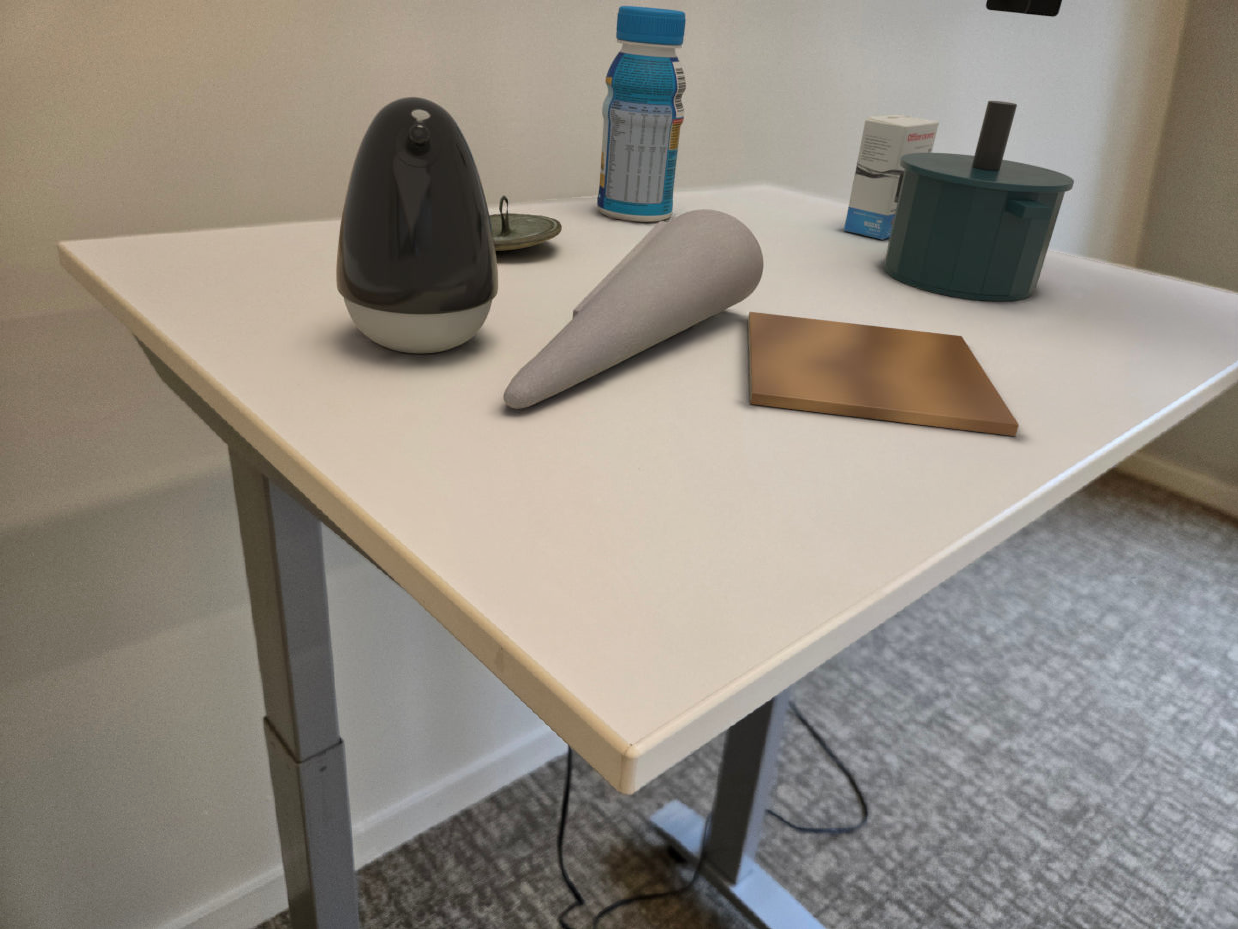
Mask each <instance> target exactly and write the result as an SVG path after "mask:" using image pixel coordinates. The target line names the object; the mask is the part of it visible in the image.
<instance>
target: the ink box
mask: <svg viewBox="0 0 1238 929" xmlns="http://www.w3.org/2000/svg"><path fill="white" fill-rule="evenodd" d="M939 125H940V122H939V121H936V120H931V119H925V118H921V117H915V116H910V115H905V114H889V115H874V116H868V117H867V119H865V120H864V125H863V126H864V127H863V131H862V135H861V142H860V146H859V152H858V156H857V162H856V167H855V171H854V176H853V181H852V186H851V190H850V191H851V193H850V197H849V202H848V207H847V212H846V217H845V222H844V226H843V231H846V232H849V233H853V234H858V235H861V236H864V237H865V236H866V237H870V238H873V239H878V240H886V239H890V234H891V230H892V225H893V220H894V216H895V211H896V207H897V202H898V198H899V193H900V189H901V184H902V179H903V175H904V170H905V169H904V168H903V167H901V165H900V161H901V157H902V156H903V155H906V154H912V153H933V149H934V146H935V141H936V137H937V133H938V128H939Z"/></svg>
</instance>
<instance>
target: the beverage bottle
mask: <svg viewBox="0 0 1238 929" xmlns="http://www.w3.org/2000/svg"><path fill="white" fill-rule="evenodd" d="M616 17H617V18H616V33H615V38H616V43H619V44H622V46H621V48H620V50H619V51H618V52H617V54H616V55H615V57H614V58H613V60H612V62H611V63H610V66H609V67H608V70H607V73H606V76H605V85H606V88H607V95H606V96H605V98H604V100H603V102H602V106H601V107H602V108H601V114H602V119H603V122H602V123H603V125H602V138H601V139H602V140H601V141H602V142H601V155H600V171H599V172H600V173H599V185H598V193H597V200H596V202H597V203H596V208H597V210H598V211H599V212H600V213H601V214H602V215H604V216H607V217H609V218H613V219H615V220H616V219H617V220H622V221H627V222H638V223H639V222H640V223H653V222H660V221H664V220H667V219H669V218H670V217H671V216H672V214H673V209H674V208H673V207H674V188H675V179H676V170H677V160H678V154H679V142H680V134H681V127H682V125H683V123H684V119H685V107H684V104H683V101H682V99H683V98H682V97H683V94H684V93H685V92H686V89H687V82H686V76H685V72H684V69H683V66H682V64H681V62H680V60H679V58H678V56H677V53H676V49H681V48H682V47H683V44H684V38H685V31H686V21H687V19H686V13H685V11H682V10H676V9H667V8H660V7H659V8H658V7H647V6H636V5H620V6H619V7H618V12H617V15H616Z"/></svg>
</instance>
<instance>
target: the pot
mask: <svg viewBox="0 0 1238 929" xmlns="http://www.w3.org/2000/svg"><path fill="white" fill-rule="evenodd" d="M1065 194H1066V192H1060V193H1025V192H1012V191H1002V190H993V189H986V188H979V187H973V186H966V185H961V184H955V183H950V182H946V181H941V180H937V179H933V178H929V177H925V176H922V175H919V174H916V173H913V172H910V171H908V170H906V169H905V170H904V175H903V179H902V184H901V189H900V193H899V198H898V202H897V207H896V211H895V216H894V220H893V225H892V230H891V234H890V237H889V238H888V244H887V249H886V252H885V256H884V257H885V258H884V265H883V269H884V272H886V274H887V275H889V276H890V277H892V278H893V279H895V280H897V281H899V282H901V283H903V284H905V285H908V286H911V287H913V288H917V289H920V290H924V291H926V292H931V293H935V294H939V295H941V296H942V295H943V296H948V297H954V298H958V299H959V298H960V299H966V300H973V301H983V302H984V301H985V302H986V301H987V302H1013V301H1020V300H1024V299H1027V298H1029V297H1031V296H1032V295H1033V294H1034V291H1035V290H1036V289H1037V286H1038V283H1039V281H1040V280H1039V279H1040V276H1041V273H1042V270H1043V267H1044V263H1045V259H1046V256H1047V254H1048V250H1049V246H1050V243H1051V239H1052V236H1053V234H1054V230H1055V227H1056V224H1057V220H1058V216H1059V213H1060V210H1061V206H1062V204H1063V200H1064V197H1065Z"/></svg>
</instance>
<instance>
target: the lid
mask: <svg viewBox="0 0 1238 929" xmlns="http://www.w3.org/2000/svg"><path fill="white" fill-rule="evenodd" d="M504 202H505V204H506V212H503V207H504ZM498 209H499V210H498V211H499V213H497V214H496V213H494V214H489V216H490V220H491V225H492V231H493V237H494V243H495V251H496V252H499V251H502V252H503V251H513V250H520V249H524V248H531V247H534V246H538V245H540V244H542V243H544V242H546V241H547V242H548V241H550V240H552V239H554V238H557V236H558V235H560V233H561V232H562V230H563V228H562V227H563V225H562V223H561V222H560V220H558V219H556V218H553V217H549V216H544V215H539V214H528V213H527V214H524V213H511V212H509V199H508V197H507V196H506V195H502V196H501V198H499V207H498Z"/></svg>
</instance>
